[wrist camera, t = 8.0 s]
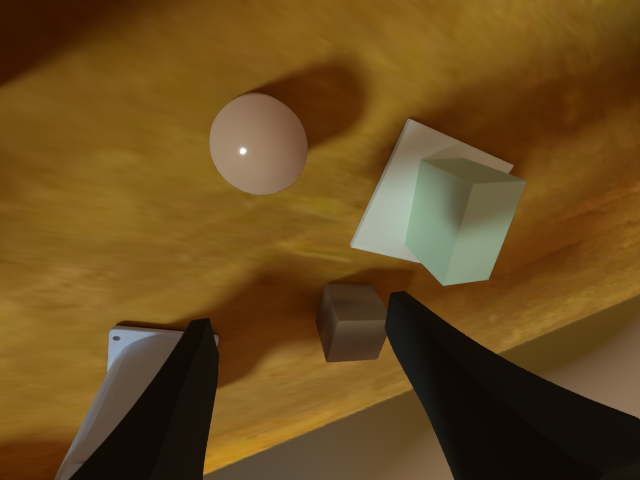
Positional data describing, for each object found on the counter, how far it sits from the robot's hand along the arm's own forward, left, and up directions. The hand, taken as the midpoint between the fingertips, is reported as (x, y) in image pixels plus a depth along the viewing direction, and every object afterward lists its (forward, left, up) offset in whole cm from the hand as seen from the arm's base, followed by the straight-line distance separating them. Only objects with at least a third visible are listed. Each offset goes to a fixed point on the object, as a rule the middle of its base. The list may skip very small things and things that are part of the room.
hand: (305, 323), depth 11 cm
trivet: (+4, -11, -10) cm, 16 cm away
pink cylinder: (+5, +3, -10) cm, 12 cm away
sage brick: (+4, -11, -10) cm, 15 cm away
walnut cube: (-7, -8, -10) cm, 15 cm away
